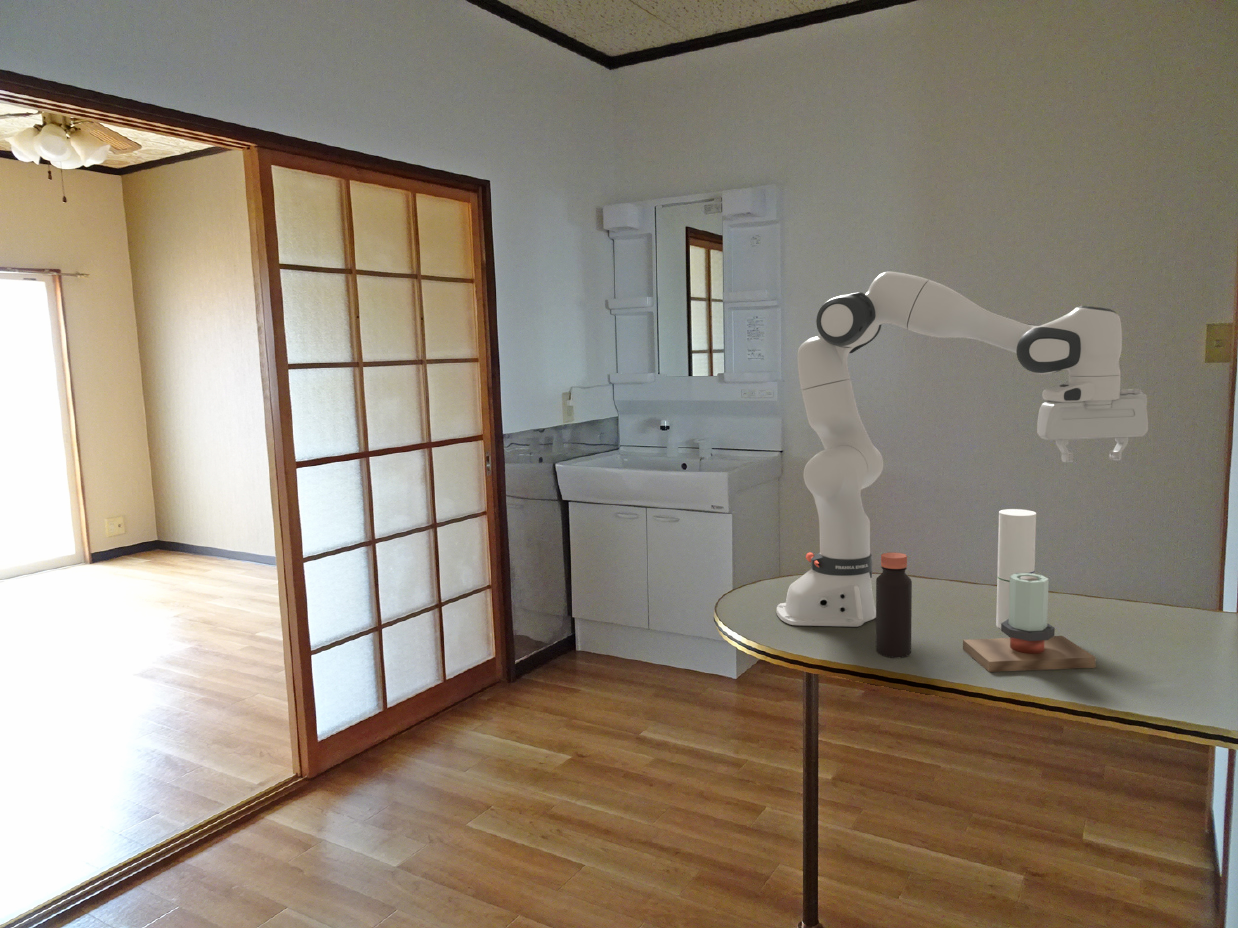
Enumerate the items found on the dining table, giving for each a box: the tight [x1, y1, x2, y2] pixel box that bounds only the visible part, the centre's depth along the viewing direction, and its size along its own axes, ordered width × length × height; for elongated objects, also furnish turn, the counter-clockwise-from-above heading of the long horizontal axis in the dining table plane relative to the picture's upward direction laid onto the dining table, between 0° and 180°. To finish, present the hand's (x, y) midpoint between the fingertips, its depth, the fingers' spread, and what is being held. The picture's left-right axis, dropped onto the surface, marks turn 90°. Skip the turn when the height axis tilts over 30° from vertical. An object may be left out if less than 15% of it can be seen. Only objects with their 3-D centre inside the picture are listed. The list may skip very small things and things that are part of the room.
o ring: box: [1000, 619, 1056, 641], centre depth 167 cm, size 9×9×2 cm
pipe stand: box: [962, 576, 1097, 673], centre depth 166 cm, size 20×12×16 cm, turn 91°
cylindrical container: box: [995, 508, 1037, 630], centre depth 184 cm, size 7×7×25 cm
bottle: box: [875, 551, 913, 658], centre depth 172 cm, size 7×7×20 cm
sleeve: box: [1009, 573, 1050, 631], centre depth 166 cm, size 6×6×10 cm
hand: (1091, 460), depth 169 cm, fingers open, 8 cm apart
